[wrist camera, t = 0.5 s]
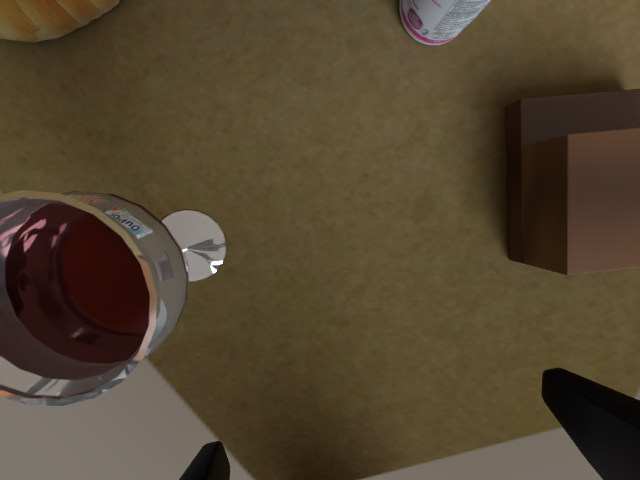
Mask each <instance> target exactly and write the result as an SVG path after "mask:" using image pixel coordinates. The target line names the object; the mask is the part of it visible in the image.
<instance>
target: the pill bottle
mask: <svg viewBox="0 0 640 480" xmlns="http://www.w3.org/2000/svg"><path fill="white" fill-rule="evenodd" d="M490 1H491V0H400V16H401V20H402V23H403V26H404V28H405V29H406V31H407V32H408V33H409V35H410V36H411V37H413V38H414V39H415V40H416V41H418V42H420V43H423V44H427V45H441V44H444V43H447V42H449V41H451V40H452V39H454V38H455V37H456V36H458V35H459V34H460V33H461V32H462V31H463V30H464V29H465V28H466V27H467V25H468V24H469V23H470V22H471V21H472V20H473V19H474V18H475V17H476V16H477V15H478V14H479V13H480V12H481V11H482V10H483V9H484V7H485V6H486V5H487V4H488V3H489V2H490Z"/></svg>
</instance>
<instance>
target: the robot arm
mask: <svg viewBox="0 0 640 480" xmlns="http://www.w3.org/2000/svg"><path fill="white" fill-rule="evenodd" d="M542 397H543V400H544V402H545V403H546V405H547V406H548V407H549V409H550V410H551V412H552V413H553V414H554V416H555V417H556V418H557V420H558V421H559V423H560V424H561V425H562V427H563V428H564V429H565V431H566V432H567V433H568V435H569V436H570V438H571V439H572V440H573V442H574V443H575V445H576V446H577V447H578V449H579V450H580V451H581V453H582V454H583V455H584V457H585V458H586V459H587V461H588V462H589V463H590V464H591V465H592V467H593V468H594V469H595V470H596V472H597V473H598V474H599V475H600V476H601V477H602V479H603V480H640V400H637V399H635V398H632V397H630V396H627V395H625V394H623V393H620V392H618V391H615V390H613V389H611V388H608V387H606V386H603V385H601V384H599V383H596V382H594V381H591V380H589V379H586V378H584V377H582V376H579V375H577V374H574V373H572V372H570V371H567V370H565V369H562V368H553V369H548V370H545V371H544V372H543V376H542ZM229 478H230V465H229V461H228V458H227V455H226V452H225V449H224V447H223V444H222V443H221V442H220V441H216V442H211V443H208V444H205V445H204V446H203V447H202V449H201V450H200V451H199V453H198V454H197V456H196V457H195V458H194V460H193V461H192V462H191V464H190V465H189V467H188V468H187V469H186V471H185V472H184V474H183V475H182V476H181V478H180V479H179V480H229Z"/></svg>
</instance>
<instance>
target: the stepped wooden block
mask: <svg viewBox="0 0 640 480" xmlns="http://www.w3.org/2000/svg"><path fill="white" fill-rule="evenodd" d="M506 130H507V180H508V229H509V260H512V261H516V262H520V263H523V264H527V265H531V266H535V267H538V268H542V269H546V270H550V271H553V272H557V273H561V274H564V275H574V274H583V273H591V272H600V271H609V270H617V269H626V268H634V267H640V89H632V90H620V91H608V92H596V93H584V94H573V95H561V96H549V97H537V98H525V99H520V100H518V101H516V102H514V103H511V104H509V105H507V106H506Z"/></svg>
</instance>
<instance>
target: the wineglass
mask: <svg viewBox="0 0 640 480" xmlns="http://www.w3.org/2000/svg"><path fill="white" fill-rule="evenodd" d="M225 251H226V242H225V238H224V235H223V232H222V231H221V229H220V227H219V226H218V224H217V223H216V222H215V221H214V220H212V219H211V218H210V217H209V216H207V215H205V214H202V213H200V212H198V211H189V210H183V211H179V212H174V213H172V214H171V215H169V216H167V217H166V218H164V219H163V220H162V221H160V220H159V219H158V218H157V217H155V216H154V215H153V214H152V213H151V212H149V211H148V210H147V209H146V208H144V207H143V206H141V205H138V204H136V203H133V202H131V201H129V200H126V199H124V198H121V197H119V196H117V195H114V194H105V193H95V192H85V191H70V192H66V193H61V194H59V193H49V192H38V191H28V190H20V191H15V192H10V193H6V194H1V195H0V396H1V397H5V398H8V399H11V400H14V401H17V402H20V403H23V404H29V405H51V406H63V405H67V404H71V403H75V402H79V401H83V400H88V399H92V398H95V397H97V396H98V395H100V394H102V393H104V392H105V391H107V390H109V389H110V388H112V387H114V386H115V385H117V384H119V383H121V382H122V381H123V380H124V379H125V378H126V377H127V376H128V374H129V373H130V372H131V371H132V370H133V369H134V368H135V367H136V365H137V364H138V363H139V362H140V361H141V360H142V359H143V358H145V357H146V356H148V355H150V354H151V353H153V352H155V351H156V350H157V348H158V347H159V346H160V345H161V344H162V343H163V342H164V340H165V339H166V338H167V337H168V336H169V335H170V334H171V332H172V331H173V330H174V328H175V326H176V325H177V323H178V321H179V318H180V316H181V313H182V311H183V308H184V306H185V304H186V301H187V299H188V281H197V280H202V279H205V278H207V277H208V276H210V275H212V274H214V273H215V271H216V270H217V269H218V268H219V267H220V266H221V264H222V262H223V259H224V257H225Z"/></svg>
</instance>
